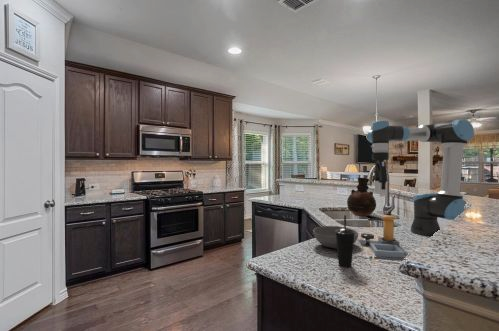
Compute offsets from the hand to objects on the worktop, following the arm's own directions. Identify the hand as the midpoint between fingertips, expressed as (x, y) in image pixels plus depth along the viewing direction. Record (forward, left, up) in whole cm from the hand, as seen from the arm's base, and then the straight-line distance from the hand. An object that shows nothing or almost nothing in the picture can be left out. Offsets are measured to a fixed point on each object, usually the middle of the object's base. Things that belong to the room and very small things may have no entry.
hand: (380, 194), depth 139 cm
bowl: (+22, +7, -25) cm, 34 cm away
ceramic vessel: (-4, -82, -25) cm, 86 cm away
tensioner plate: (+1, +3, -25) cm, 25 cm away
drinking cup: (+20, +32, -25) cm, 46 cm away
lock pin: (-3, +3, -24) cm, 24 cm away
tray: (+1, +16, -25) cm, 30 cm away
